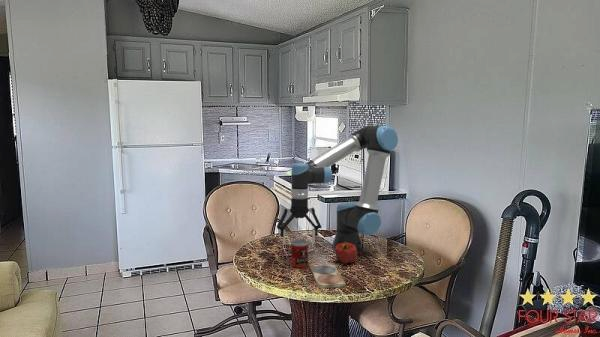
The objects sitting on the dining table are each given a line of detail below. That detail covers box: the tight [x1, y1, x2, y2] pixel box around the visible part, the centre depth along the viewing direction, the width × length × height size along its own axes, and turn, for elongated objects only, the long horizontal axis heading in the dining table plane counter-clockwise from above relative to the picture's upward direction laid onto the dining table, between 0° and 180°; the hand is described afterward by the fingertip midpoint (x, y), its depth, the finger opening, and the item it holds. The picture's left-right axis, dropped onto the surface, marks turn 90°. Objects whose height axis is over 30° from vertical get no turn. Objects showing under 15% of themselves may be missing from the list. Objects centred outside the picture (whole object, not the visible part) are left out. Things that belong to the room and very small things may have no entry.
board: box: [309, 264, 347, 289], centre depth 180 cm, size 11×22×2 cm, turn 8°
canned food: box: [290, 239, 309, 269], centre depth 194 cm, size 8×8×11 cm
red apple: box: [334, 242, 358, 265], centre depth 198 cm, size 11×10×10 cm
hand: (298, 243), depth 193 cm, fingers open, 13 cm apart
